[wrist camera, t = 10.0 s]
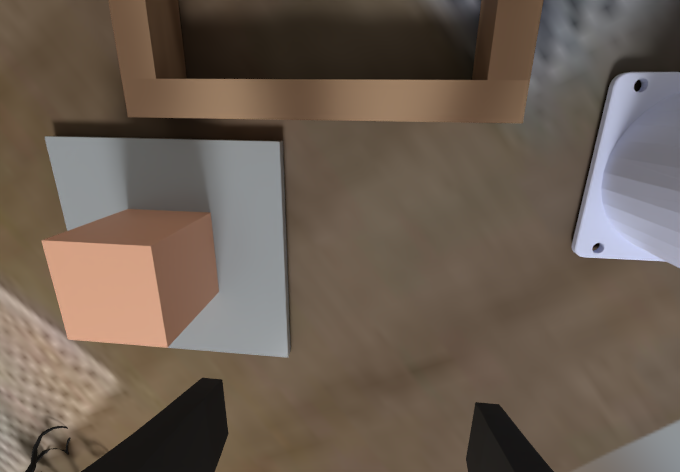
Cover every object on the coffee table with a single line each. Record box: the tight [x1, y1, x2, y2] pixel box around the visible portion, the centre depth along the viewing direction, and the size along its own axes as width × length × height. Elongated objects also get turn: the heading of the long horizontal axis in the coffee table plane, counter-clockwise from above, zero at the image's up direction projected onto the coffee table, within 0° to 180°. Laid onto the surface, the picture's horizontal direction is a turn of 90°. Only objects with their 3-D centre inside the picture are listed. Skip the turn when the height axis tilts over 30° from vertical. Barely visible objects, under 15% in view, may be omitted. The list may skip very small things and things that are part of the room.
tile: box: [45, 136, 290, 357], centre depth 19 cm, size 12×12×1 cm
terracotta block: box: [42, 209, 219, 348], centre depth 17 cm, size 4×4×5 cm
